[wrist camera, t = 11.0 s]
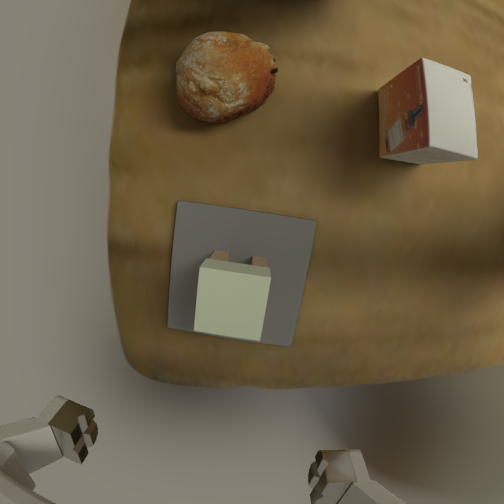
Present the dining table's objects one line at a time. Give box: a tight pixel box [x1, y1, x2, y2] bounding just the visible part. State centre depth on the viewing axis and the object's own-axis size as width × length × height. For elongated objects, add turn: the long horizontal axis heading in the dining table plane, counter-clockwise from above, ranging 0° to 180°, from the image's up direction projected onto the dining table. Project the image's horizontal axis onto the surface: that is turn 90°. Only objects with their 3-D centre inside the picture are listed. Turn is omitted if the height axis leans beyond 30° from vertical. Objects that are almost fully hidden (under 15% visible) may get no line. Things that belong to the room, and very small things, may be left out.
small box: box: [378, 58, 478, 164], centre depth 22 cm, size 8×6×10 cm
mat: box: [167, 201, 317, 347], centre depth 31 cm, size 14×14×1 cm
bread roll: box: [176, 31, 278, 123], centre depth 25 cm, size 10×10×8 cm
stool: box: [194, 250, 271, 341], centre depth 27 cm, size 6×6×8 cm
